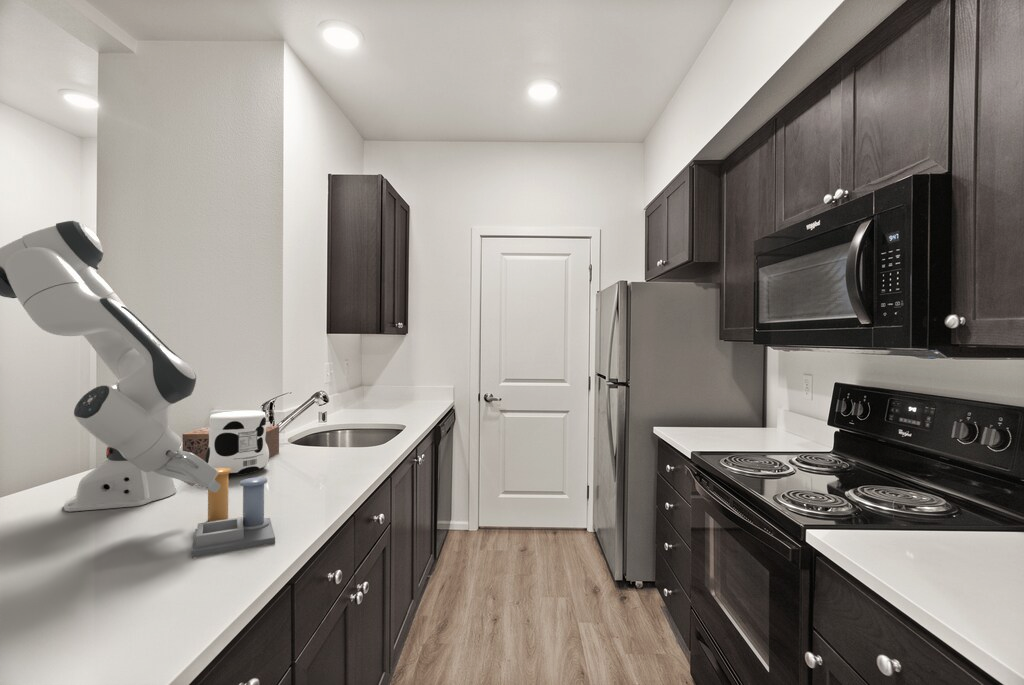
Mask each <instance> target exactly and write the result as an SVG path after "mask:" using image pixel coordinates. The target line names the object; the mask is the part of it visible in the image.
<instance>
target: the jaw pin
mask: <svg viewBox="0 0 1024 685" xmlns="http://www.w3.org/2000/svg"><path fill="white" fill-rule="evenodd" d="M216 470H217V472H218V475H217V476H216V478H215V480H216V482H217V483H219V484H220V485H221V487H220V489H219V490H218V491H217V492H212V491H210V490H209V489H207V522H208V521H209V522H211V521H218V520H225V519H229V476H228V473H231V469H230V468H216Z"/></svg>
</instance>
